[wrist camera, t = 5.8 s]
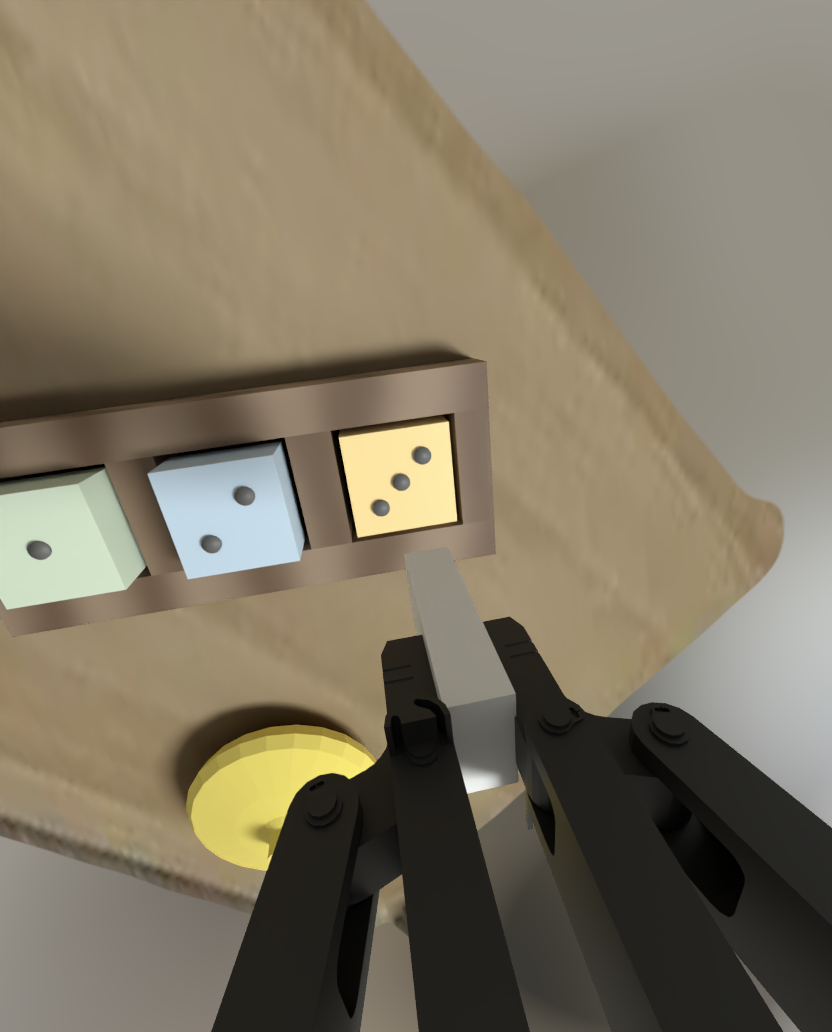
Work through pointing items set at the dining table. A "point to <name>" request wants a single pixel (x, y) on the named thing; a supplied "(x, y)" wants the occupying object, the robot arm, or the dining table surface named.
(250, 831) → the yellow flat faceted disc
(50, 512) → the tile
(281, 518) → the tile
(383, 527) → the tile
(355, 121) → the dining table surface
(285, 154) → the dining table surface
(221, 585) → the board
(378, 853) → the robot arm
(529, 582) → the dining table surface
